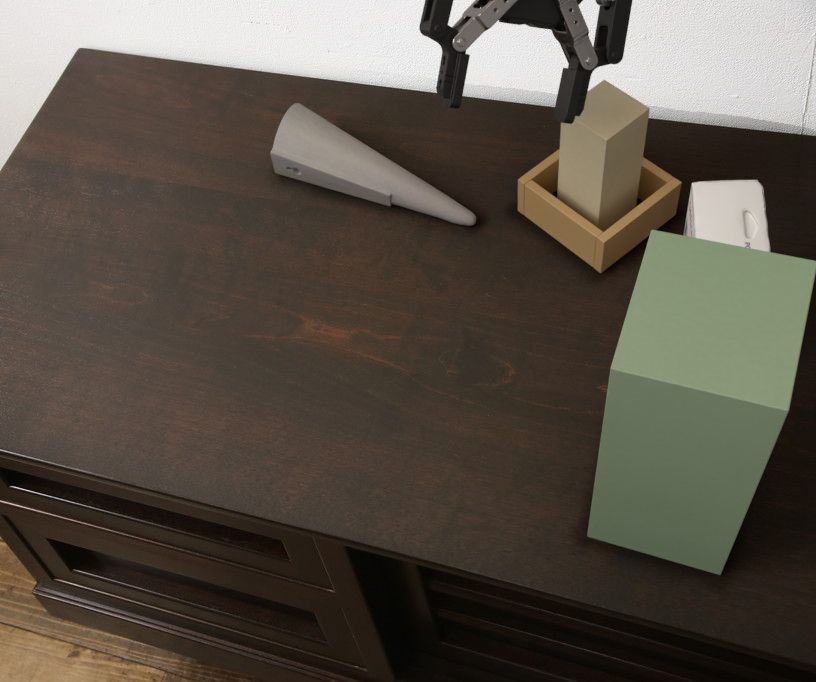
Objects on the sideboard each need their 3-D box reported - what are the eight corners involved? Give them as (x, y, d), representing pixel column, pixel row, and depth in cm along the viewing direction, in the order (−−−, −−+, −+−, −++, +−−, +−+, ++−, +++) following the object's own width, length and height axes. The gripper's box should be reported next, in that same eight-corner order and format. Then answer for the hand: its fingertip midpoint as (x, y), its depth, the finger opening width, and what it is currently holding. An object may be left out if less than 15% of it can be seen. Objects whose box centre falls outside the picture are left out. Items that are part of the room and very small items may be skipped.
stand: (747, 450, 77) (818, 260, 60) (720, 575, 73) (789, 411, 55) (620, 418, 80) (651, 228, 63) (586, 536, 76) (610, 368, 58)
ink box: (671, 277, 87) (691, 176, 77) (737, 278, 86) (766, 176, 76) (676, 368, 82) (698, 273, 72) (747, 370, 81) (779, 274, 71)
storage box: (675, 214, 90) (682, 182, 87) (600, 273, 88) (604, 242, 85) (590, 156, 95) (593, 123, 92) (517, 210, 93) (517, 179, 90)
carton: (635, 212, 91) (650, 107, 81) (596, 242, 90) (606, 140, 80) (594, 184, 93) (604, 79, 84) (556, 213, 92) (561, 110, 83)
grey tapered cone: (500, 150, 92) (298, 89, 97) (473, 210, 90) (267, 144, 95) (497, 188, 97) (305, 127, 102) (471, 245, 95) (276, 181, 100)
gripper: (472, -157, 67) (427, 109, 71) (680, -118, 70) (623, 134, 74) (436, -145, 74) (397, 96, 78) (627, -110, 77) (578, 120, 81)
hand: (507, 114), depth 76 cm, fingers open, 8 cm apart
